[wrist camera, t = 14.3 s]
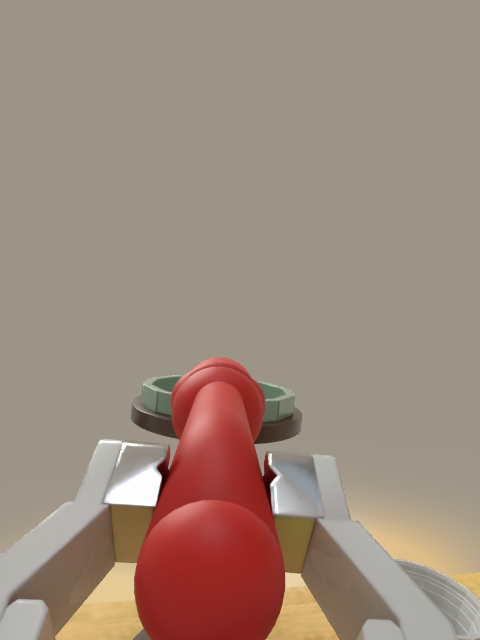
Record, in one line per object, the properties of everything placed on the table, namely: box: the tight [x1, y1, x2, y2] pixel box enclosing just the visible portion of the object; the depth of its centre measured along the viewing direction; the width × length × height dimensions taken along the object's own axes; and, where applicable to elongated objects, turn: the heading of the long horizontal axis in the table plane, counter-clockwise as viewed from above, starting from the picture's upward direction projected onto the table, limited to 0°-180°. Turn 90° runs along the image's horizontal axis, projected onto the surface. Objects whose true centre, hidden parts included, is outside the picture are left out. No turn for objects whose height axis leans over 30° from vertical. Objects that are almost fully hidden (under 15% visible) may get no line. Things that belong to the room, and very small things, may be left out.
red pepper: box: [134, 358, 285, 640], centre depth 17 cm, size 24×6×4 cm, turn 2°
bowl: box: [141, 375, 295, 423], centre depth 41 cm, size 14×14×2 cm
